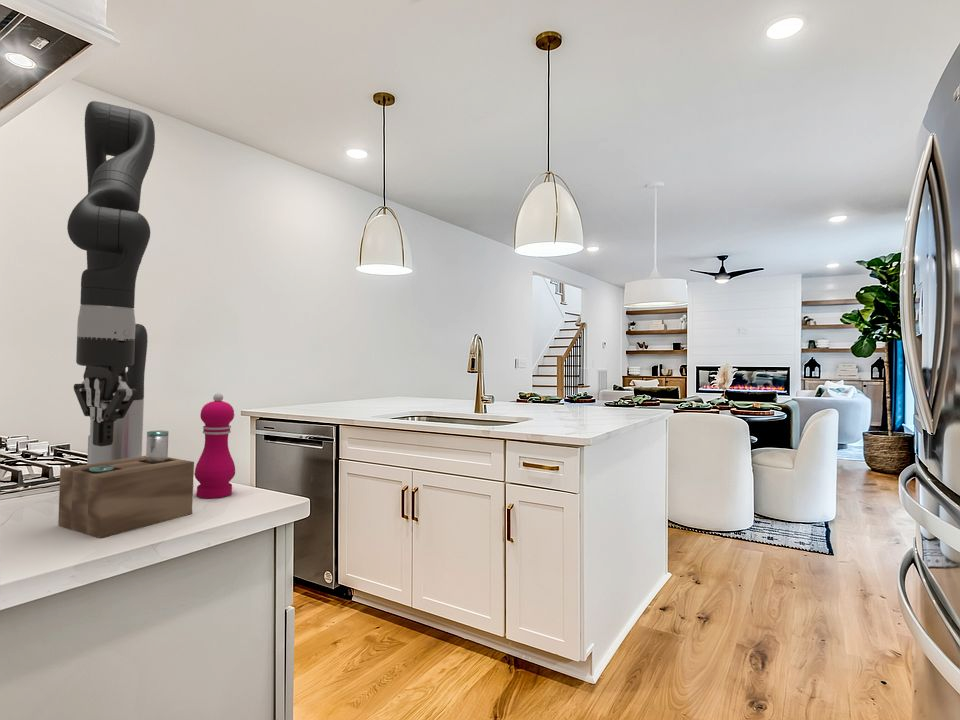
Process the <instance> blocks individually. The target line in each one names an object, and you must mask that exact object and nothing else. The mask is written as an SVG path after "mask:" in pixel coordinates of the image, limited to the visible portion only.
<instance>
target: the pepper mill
mask: <svg viewBox="0 0 960 720" xmlns="http://www.w3.org/2000/svg"><path fill="white" fill-rule="evenodd" d="M212 399H213V401H210V402H209V401H208V402H207V403H206V404H203V407H201V408H202V409H201V410H200V415H199V417H200V420H201V421H202V422H203V424H204V425H203V427H202V428H203V431H202V434H203V435H204V447H203V450H202V452H201V454H200V457H199V459H198V461H197V463H196V466H195V467H194V469H195V470H194V478H195V480H196V481H197V482H198V483H199V484H198V485H197V486H196V496H197V497H198V498H202V499H218V498H219V499H220V498H225V497H228V496H230V495H232V493H233V483H230V482H231V481H232V479H234V477H235V475H236V466H235V462H234V459H233V457H232V454H231V452H230V449H229V434H231V432H232V431H231V428H232V426H231V425H230V424H231V422H232V421H233V420H234V418H235V410H234V407H233V406H232V405H231V404H230V403H229V402H226V401H223V399H224V396H223V394H222V393H220V392H216V393H215V394H214V395H213V398H212ZM227 495H228V496H227ZM224 496H225V497H224Z"/></svg>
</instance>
